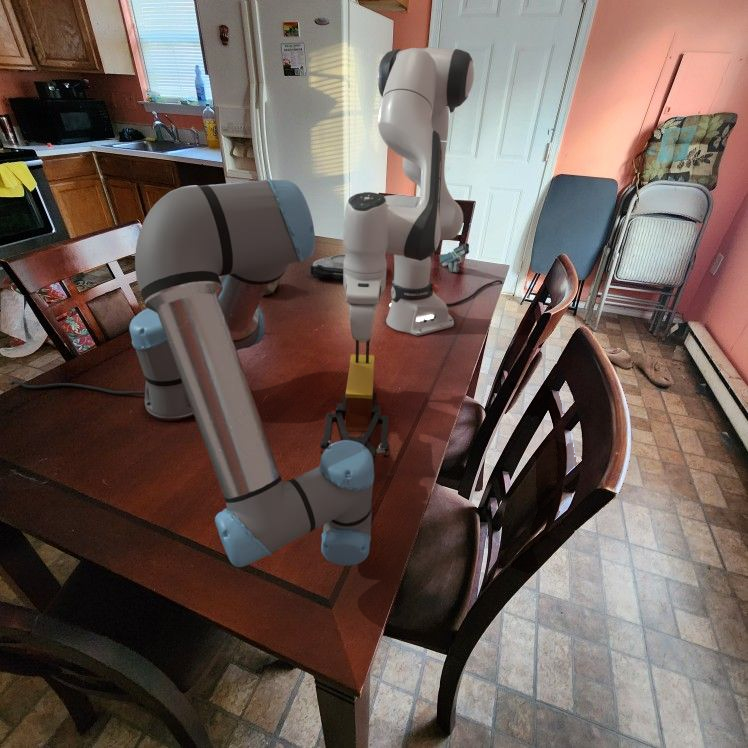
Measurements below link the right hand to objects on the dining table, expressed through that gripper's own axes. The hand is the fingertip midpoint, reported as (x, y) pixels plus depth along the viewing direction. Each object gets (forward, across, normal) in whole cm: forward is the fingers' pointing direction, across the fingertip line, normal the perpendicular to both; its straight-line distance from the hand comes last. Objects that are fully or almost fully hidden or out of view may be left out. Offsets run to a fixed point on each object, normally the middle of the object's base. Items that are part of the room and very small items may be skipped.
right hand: (363, 337), depth 93 cm
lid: (+8, +4, 0) cm, 9 cm away
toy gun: (+17, -91, +34) cm, 98 cm away
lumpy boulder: (+17, -61, -39) cm, 75 cm away
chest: (+17, +5, 0) cm, 18 cm away
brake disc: (+17, -84, -10) cm, 87 cm away
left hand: (+11, +8, 0) cm, 14 cm away
